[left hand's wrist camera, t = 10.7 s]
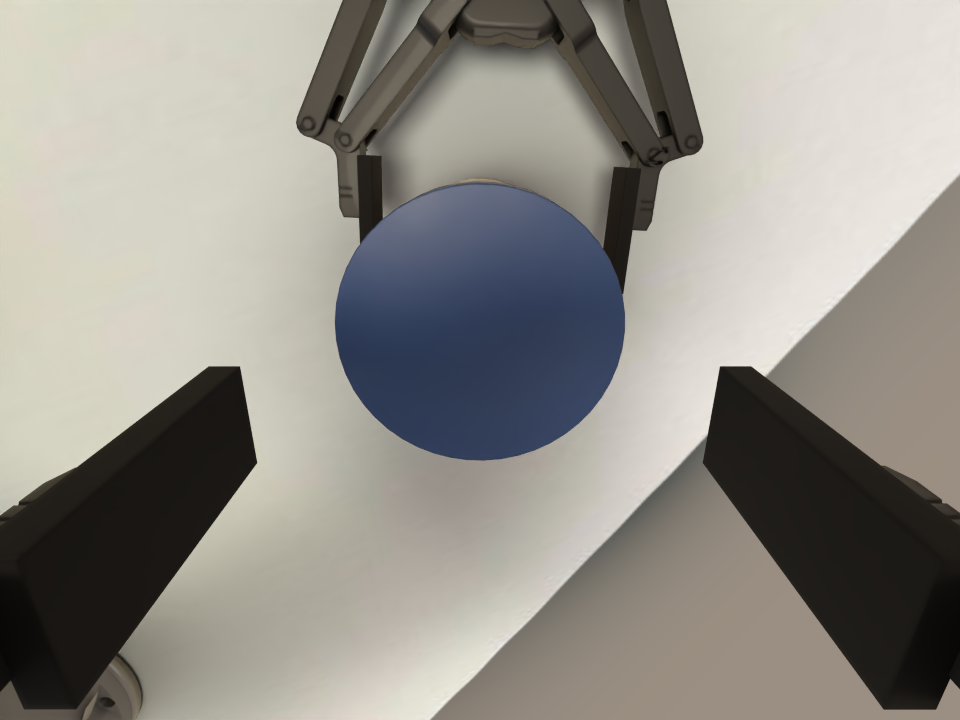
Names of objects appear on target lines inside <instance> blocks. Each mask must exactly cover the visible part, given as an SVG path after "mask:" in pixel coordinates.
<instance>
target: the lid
mask: <svg viewBox="0 0 960 720" xmlns="http://www.w3.org/2000/svg"><path fill="white" fill-rule="evenodd" d="M335 330H336V342H337V346H338V351H339V356H340V359H341V362H342V365H343V368H344V371H345V374H346V376H347V378H348V380H349V382H350V384H351V386H352V388H353V390H354V391H355V393H356V394H357V396H358V397H359V399H360V400H361V401H362V403H363V404H364V406H365V407H366V408H367V409H368V410H369V411H370V412H371V413H372V415H373V416H374V417H375V418H376V419H377V420H378V421H380V422H381V423H382V424H383V425H384V426H385V427H386V428H387V429H389V430H390V431H392V432H393V433H395V434H396V435H397V436H399V437H400V438H402V439H403V440H405V441H407V442H409V443H411V444H413V445H415V446H417V447H419V448H422V449H424V450H427V451H429V452H432V453H435V454H439V455H443V456H446V457H450V458H457V459H464V460H495V459H503V458H508V457H513V456H518V455H521V454H525V453H528V452H531V451H534V450H536V449H538V448H541V447H543V446H545V445H547V444H549V443H551V442H553V441H555V440H556V439H558V438H560V437H561V436H563V435H564V434H566V433H567V432H568V431H570V430H571V429H572V428H574V427H575V426H576V425H577V424H579V423H580V422H581V421H582V420H583V419H584V418H585V417H586V416H587V415H588V414H589V413H590V412H591V410H592V409H593V408H594V407H595V405H596V404H597V403H598V401H599V400H600V399H601V398H602V396H603V394H604V392H605V391H606V389H607V387H608V386H609V384H610V382H611V380H612V378H613V375H614V373H615V371H616V368H617V366H618V362H619V359H620V355H621V352H622V347H623V340H624V333H625V311H624V303H623V296H622V292H621V288H620V285H619V281H618V278H617V275H616V273H615V271H614V268H613V266H612V264H611V262H610V259H609V258H608V256H607V255H606V253H605V251H604V250H603V248H602V247H601V245H600V243H599V242H598V241H597V240H596V238H595V237H594V236H593V235H592V234H591V232H590V231H589V230H588V229H587V228H586V227H585V226H584V225H583V224H582V223H581V222H580V221H578V220H577V219H576V218H575V217H574V216H573V215H572V214H570V213H569V212H567V211H566V210H564V209H563V208H561V207H560V206H558V205H557V204H555V203H554V202H552V201H550V200H549V199H547V198H545V197H543V196H541V195H538V194H536V193H534V192H532V191H530V190H527V189H524V188H521V187H517V186H514V185H510V184H504V183H498V182H485V181H472V182H462V183H455V184H451V185H447V186H443V187H439V188H436V189H433V190H431V191H428V192H426V193H423V194H421V195H419V196H417V197H416V198H414V199H412V200H410V201H409V202H407V203H405V204H403V205H402V206H400V207H398V208H397V209H395V210H394V211H393V212H391V213H390V214H389V215H388V216H386V217H385V218H384V219H382V220H381V221H380V222H379V223H378V224H377V225H376V226H375V227H374V228H373V229H372V230H371V231H370V232H369V233H368V234H367V236H366V237H365V238H364V240H363V241H362V242H361V244H360V245H359V247H358V248H357V249H356V251H355V253H354V254H353V256H352V258H351V260H350V262H349V264H348V266H347V268H346V270H345V273H344V276H343V279H342V281H341V284H340V288H339V293H338V297H337V302H336V313H335Z"/></svg>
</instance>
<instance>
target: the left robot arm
mask: <svg viewBox="0 0 960 720" xmlns="http://www.w3.org/2000/svg"><path fill="white" fill-rule="evenodd" d="M256 464H257V459H256V454H255V448H254V442H253V437H252V431H251V426H250V420H249V414H248V409H247V403H246V398H245V392H244V387H243V381H242V375H241V370H240V366H209V367H208V368H206V369H205V370H204V371H202V372H201V373H200V374H198V375H197V376H196V377H194V378H193V379H192V380H191V381H189V382H188V383H187V384H185V385H184V386H183V387H181V388H180V389H179V390H177V391H176V392H175V393H174V394H172V395H171V396H170V397H168V398H167V399H166V400H164V401H163V402H162V403H160V404H159V405H158V406H157V407H155V408H154V409H153V410H151V411H150V412H149V413H147V414H146V415H145V416H143V417H142V418H141V419H140V420H138V421H137V422H136V423H134V424H133V425H132V426H130V427H129V428H128V429H126V430H125V431H124V432H123V433H121V434H120V435H119V436H117V437H116V438H115V439H113V440H112V441H111V442H109V443H108V444H107V445H106V446H104V447H103V448H102V449H100V450H99V451H98V452H96V453H95V454H94V455H92V456H91V457H90V458H89V459H87V460H86V461H85V462H83V463H82V464H81V465H79V466H78V467H77V468H74V469H72V470H70V471H68V472H66V473H64V474H62V475H60V476H58V477H56V478H54V479H52V480H49V481H47V482H45V483H44V484H42V485H41V486H39V487H38V488H37V489H35V490H34V491H33V492H31V493H30V494H29V495H27V496H26V497H25V498H23V499H22V500H21V501H19V505H18V506H13V507H11V508H10V509H9V510H7V511H6V512H4V513H3V514H2V515H0V720H135V718H136V716H137V715H138V713H139V710H140V707H141V691H140V687H139V684H138V682H137V680H136V678H135V676H134V674H133V673H132V671H131V670H130V669H129V668H128V666H127V665H126V664H125V663H124V662H123V661H122V660H121V659H120V658H119V657H118V656H117V653H118V652H119V651H120V649H121V648H122V646H123V645H124V644H125V642H126V641H127V640H128V638H129V637H130V636H131V634H132V633H133V631H134V630H135V629H136V627H137V626H138V625H139V623H140V622H141V621H142V619H143V618H144V616H145V615H146V614H147V612H148V611H149V610H150V608H151V607H152V606H153V604H154V603H155V601H156V600H157V599H158V597H159V596H160V595H161V593H162V592H163V591H164V589H165V588H166V586H167V585H168V584H169V582H170V581H171V580H172V578H173V577H174V576H175V574H176V573H177V571H178V570H179V569H180V567H181V566H182V565H183V563H184V562H185V561H186V559H187V558H188V556H189V555H190V554H191V552H192V551H193V550H194V548H195V547H196V546H197V544H198V543H199V541H200V540H201V539H202V537H203V536H204V535H205V533H206V532H207V531H208V529H209V528H210V526H211V525H212V524H213V522H214V521H215V520H216V518H217V517H218V516H219V514H220V513H221V511H222V510H223V509H224V507H225V506H226V505H227V503H228V502H229V501H230V499H231V498H232V496H233V495H234V494H235V492H236V491H237V490H238V488H239V487H240V486H241V484H242V483H243V481H244V480H245V479H246V477H247V476H248V475H249V473H250V472H251V471H252V469H253V468H254V466H255V465H256ZM703 464H704V465H705V466H706V468H707V469H708V471H709V472H710V473H711V475H712V476H713V477H714V479H715V480H716V481H717V483H718V484H719V486H720V487H721V488H722V490H723V491H724V492H725V494H726V495H727V496H728V498H729V499H730V501H731V502H732V503H733V505H734V506H735V507H736V509H737V510H738V511H739V513H740V514H741V516H742V517H743V518H744V520H745V521H746V522H747V524H748V525H749V526H750V528H751V529H752V531H753V532H754V533H755V534H756V536H757V537H758V539H759V540H760V541H761V543H762V544H763V545H764V547H765V548H766V550H767V551H768V552H769V554H770V555H771V556H772V558H773V559H774V561H775V562H776V563H777V565H778V566H779V567H780V569H781V570H782V571H783V573H784V574H785V575H786V577H787V578H788V580H789V581H790V582H791V584H792V585H793V586H794V588H795V589H796V591H797V592H798V593H799V595H800V596H801V597H802V599H803V600H804V601H805V603H806V604H807V605H808V607H809V608H810V610H811V611H812V612H813V614H814V615H815V616H816V618H817V619H818V620H819V622H820V623H821V625H822V626H823V627H824V629H825V630H826V631H827V633H828V634H829V636H830V637H831V638H832V640H833V641H834V642H835V644H836V645H837V646H838V648H839V649H840V650H841V652H842V653H843V655H844V656H845V657H846V659H847V660H848V661H849V663H850V664H851V665H852V667H853V668H854V670H855V671H856V672H857V674H858V675H859V676H860V678H861V679H862V680H863V682H864V683H865V685H866V686H867V687H868V689H869V690H870V691H871V693H872V694H873V695H874V697H875V698H876V700H877V701H878V702H879V704H880V705H881V706H882V708H883V709H884V710H890V709H892V710H900V709H901V710H902V709H904V710H907V709H908V710H910V709H911V710H914V709H916V710H918V709H920V710H922V709H923V710H925V709H927V710H934V709H936V708H937V706H938V704H939V702H940V700H941V698H942V695H943V693H944V691H945V689H946V687H947V684H948V682H949V680H950V679H951V680H952V681H953V682H954V683H955V684H956V685H957V686H958V688H959V689H960V513H959V512H958V511H956V510H955V509H954V508H952V507H951V506H950V505H948V504H943V503H942V500H941V499H940V498H939V497H937V496H936V495H935V494H933V493H932V492H931V491H929V490H928V489H927V488H925V487H924V486H922V485H921V484H920V483H918V482H917V481H915V480H913V479H911V478H909V477H907V476H905V475H903V474H901V473H899V472H897V471H894V470H893V469H890V468H888V467H886V466H881V465H879V464H878V463H877V462H875V461H874V460H873V459H871V458H870V457H869V456H868V455H866V454H865V453H864V452H862V451H861V450H860V449H858V448H857V447H856V446H854V445H853V444H852V443H851V442H849V441H848V440H847V439H845V438H844V437H843V436H841V435H840V434H839V433H837V432H836V431H835V430H834V429H832V428H831V427H829V426H828V425H827V424H826V423H824V422H823V421H822V420H820V419H819V418H818V417H817V416H815V415H814V414H812V413H811V412H810V411H809V410H807V409H806V408H805V407H803V406H802V405H801V404H800V403H798V402H797V401H796V400H794V399H793V398H792V397H790V396H789V395H788V394H786V393H785V392H784V391H782V390H781V389H780V388H779V387H777V386H776V385H775V384H773V383H772V382H771V381H769V380H768V379H767V378H766V377H764V376H763V375H762V374H760V373H759V372H758V371H756V370H755V369H754V368H752V367H751V366H720V370H719V375H718V381H717V387H716V392H715V398H714V403H713V409H712V414H711V420H710V426H709V431H708V437H707V442H706V448H705V454H704V459H703Z"/></svg>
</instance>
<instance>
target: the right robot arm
mask: <svg viewBox="0 0 960 720" xmlns="http://www.w3.org/2000/svg"><path fill="white" fill-rule="evenodd" d="M386 1H387V0H343V1H342V3H341V6H340V9H339V11H338V14H337V16H336V19H335V21H334V24H333V27H332V29H331V32H330V34H329V37H328V39H327V42H326V45H325V47H324V50H323V52H322V55H321V57H320V60H319V63H318V65H317V68H316V70H315V73H314V75H313V78H312V81H311V83H310V86H309V88H308V91H307V93H306V96H305V99H304V101H303V104H302V106H301V109H300V111H299V114H298V116H297V121H296V124H297V128H298V130H299V131H300V133H302V134H303V135H304V136H307V137H311V138H313V139H315V140H318V141H320V142H322V143H325V144H327V145H328V146H330V147H331V148H332V149H333V150H334V152H335V154H336V157H337V168H338V187H339V207H340V209H341V212H342V214H343V216H344V217H353V218H359V227H360V244H361V242H362V241H363V240H364V238H365V237H366V236H367V234H368V233H369V232H370V231H371V230H372V229H373V228H374V227H375V226H376V225H377V224H378V223H379V222H380V221H381V220H382V219H383V211H382V167H381V156H371V155H366V151H367V149H366V148H367V146H368V145H369V144H370V143H371V141H372V140H373V139H374V137H375V136H376V135H377V134H378V132H379V131H380V130H381V129H382V127H383V126H384V125H385V123H386V122H387V121H388V120H389V118H390V117H391V116H392V115H393V113H394V112H395V111H396V109H397V108H398V107H399V106H400V104H401V103H402V102H403V101H404V99H405V98H406V97H407V95H408V94H409V93H410V92H411V90H412V89H413V88H414V86H415V85H416V84H417V83H418V81H419V80H420V79H421V78H422V76H423V75H424V74H425V72H426V71H427V70H428V69H429V67H430V66H431V65H432V64H433V62H434V61H435V60H436V58H437V57H438V56H439V55H440V54H441V53H443V52H444V51H445V49H446V48H447V47H448V46H449V45H450V43H451V42H452V41H453V39H454V38H455V37H456V36H457V34H458V33H460V34H461V35H462V36H463V37H464V38H466V39H467V40H469V41H471V42H474V45H478V46H491V45H495V44H499V43H503V42H506V43H509V44H511V45H514V46H517V47H519V48H535V47H536V45H540V44H542V43H544V42H546V41H547V40H548V39H550V38H551V40H552V42H553V43H554V45H555V46H556V48H557V49H558V51H559V53H560V54H561V56H562V57H563V58H564V59H565V60H566V61H567V62H568V63H569V65H570V66H571V68H572V69H573V71H574V73H575V74H576V76H577V77H578V79H579V81H580V82H581V84H582V85H583V87H584V89H585V90H586V92H587V93H588V95H589V97H590V98H591V100H592V101H593V103H594V105H595V106H596V108H597V109H598V111H599V113H600V114H601V116H602V117H603V119H604V120H605V122H606V124H607V125H608V127H609V128H610V130H611V132H612V133H613V135H614V136H615V138H616V140H617V141H618V143H619V144H620V146H621V148H622V149H623V151H624V152H625V154H626V156H627V157H628V159H629V160H630V168H625V167H614V170H613V178H612V185H611V193H610V201H609V209H608V216H607V224H606V232H605V240H604V248H603V250H604V251H605V253H606V255H607V256H608V258H609V259H610V262H611V264H612V266H613V268H614V271H615V273H616V275H617V278H618V281H619V285H620V288H621V292H622V294H623V291H624V284H625V277H626V270H627V264H628V257H629V250H630V243H631V236H632V230H641V231H647V229H648V227H649V225H650V223H651V222H652V216H653V209H654V202H655V197H656V191H657V184H658V178H659V173H660V171H661V169H662V167H663V166H664V165H665V164H666V163H667V162H669V161H672V160H675V159H678V158H681V157H684V156H687V155H693V154H695V153H697V152H698V151H699V150H700V149H701V147H702V145H703V135H702V132H701V128H700V124H699V120H698V117H697V113H696V109H695V105H694V102H693V98H692V94H691V90H690V87H689V83H688V79H687V75H686V72H685V68H684V64H683V60H682V57H681V53H680V49H679V46H678V42H677V38H676V34H675V31H674V27H673V23H672V19H671V16H670V12H669V8H668V4H667V1H666V0H623V2H624V11H625V17H626V21H627V25H628V28H629V32H630V35H631V39H632V42H633V45H634V49H635V52H636V56H637V59H638V62H639V66H640V69H641V73H642V76H643V79H644V83H645V86H646V90H647V93H648V96H649V100H650V103H651V107H652V110H653V113H654V117H655V120H656V124H657V127H658V130H659V134H660V137H658V136H657V134H656V133H655V131H654V129H653V128H652V126H651V124H650V123H649V121H648V119H647V118H646V116H645V114H644V113H643V111H642V109H641V108H640V106H639V104H638V103H637V101H636V99H635V98H634V96H633V94H632V92H631V91H630V89H629V87H628V86H627V84H626V82H625V81H624V79H623V77H622V76H621V74H620V72H619V71H618V69H617V67H616V66H615V64H614V62H613V61H612V59H611V57H610V56H609V54H608V52H607V51H606V49H605V47H604V46H603V44H602V42H601V41H600V39H599V37H598V35H597V33H596V28H595V25H594V23H593V21H592V19H591V18H590V16H589V14H588V13H587V11H586V9H585V8H584V6H583V4H582V3H581V1H580V0H431V2H430V3H429V4H428V6H427V7H426V8H425V10H424V11H423V13H422V14H421V15H420V17H419V19H418V22H417V24H416V26H415V27H414V29H413V30H412V31H411V33H410V34H409V35H408V37H407V38H406V39H405V41H404V42H403V43H402V44H401V46H400V47H399V48H398V50H397V51H396V52H395V54H394V55H393V56H392V58H391V59H390V60H389V62H388V63H387V64H386V66H385V67H384V68H383V70H382V71H381V72H380V74H379V75H378V76H377V78H376V79H375V80H374V81H373V83H372V84H371V85H370V87H369V88H368V89H367V91H366V92H365V93H364V95H363V96H362V97H361V99H360V100H359V101H358V103H357V104H356V105H355V107H354V108H353V109H352V111H351V112H350V113H349V115H348V116H347V117H346V118H345V120H344V121H343V122H342V123H341V122H339V121H338V118H339V116H340V114H341V111H342V109H343V106H344V104H345V102H346V99H347V97H348V94H349V92H350V90H351V87H352V85H353V82H354V80H355V77H356V75H357V73H358V70H359V68H360V65H361V63H362V61H363V58H364V56H365V53H366V51H367V49H368V46H369V44H370V41H371V39H372V37H373V34H374V32H375V29H376V27H377V25H378V22H379V20H380V17H381V15H382V13H383V10H384V7H385V4H386Z"/></svg>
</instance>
